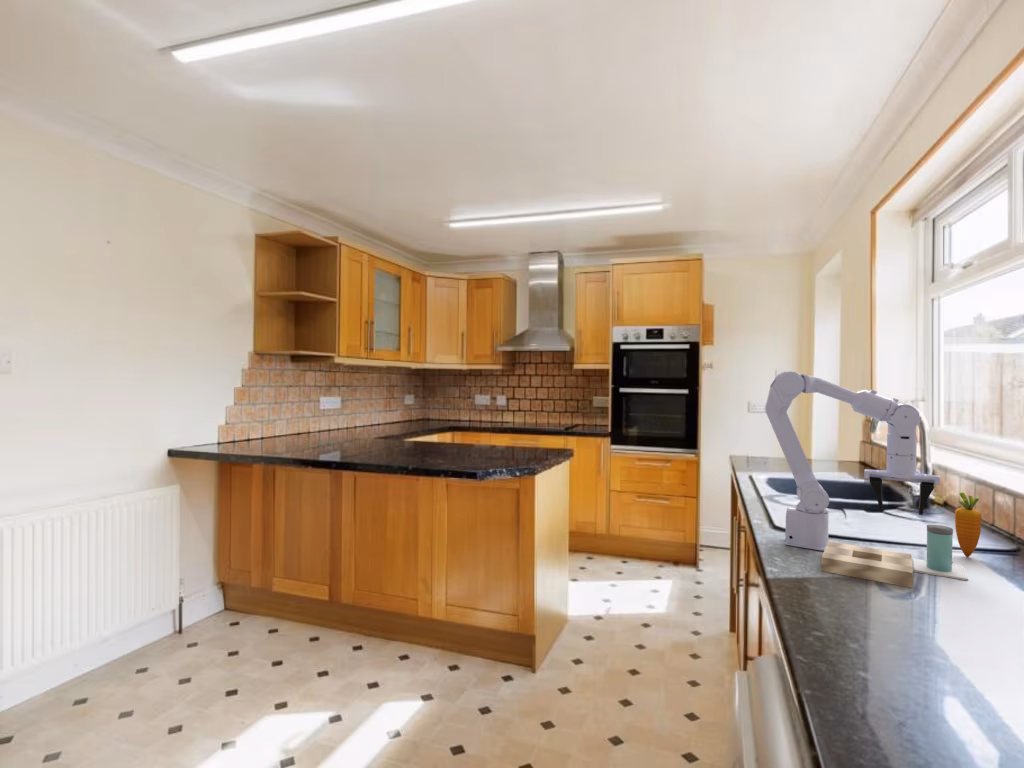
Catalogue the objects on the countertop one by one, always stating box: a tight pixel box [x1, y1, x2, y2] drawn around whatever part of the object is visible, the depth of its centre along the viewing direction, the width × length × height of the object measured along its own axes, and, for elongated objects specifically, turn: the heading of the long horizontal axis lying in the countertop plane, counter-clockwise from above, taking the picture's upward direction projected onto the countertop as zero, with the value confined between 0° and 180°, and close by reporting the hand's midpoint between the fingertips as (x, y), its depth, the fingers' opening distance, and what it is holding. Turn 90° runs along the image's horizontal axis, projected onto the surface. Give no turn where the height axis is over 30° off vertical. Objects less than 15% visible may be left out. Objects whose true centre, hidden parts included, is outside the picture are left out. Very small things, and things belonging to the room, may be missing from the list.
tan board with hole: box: [821, 540, 914, 589], centre depth 119 cm, size 16×14×3 cm
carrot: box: [954, 491, 982, 558], centre depth 128 cm, size 5×5×15 cm
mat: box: [912, 557, 969, 582], centre depth 119 cm, size 9×9×1 cm
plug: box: [926, 524, 954, 572], centre depth 119 cm, size 4×4×9 cm
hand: (900, 511), depth 129 cm, fingers open, 7 cm apart
